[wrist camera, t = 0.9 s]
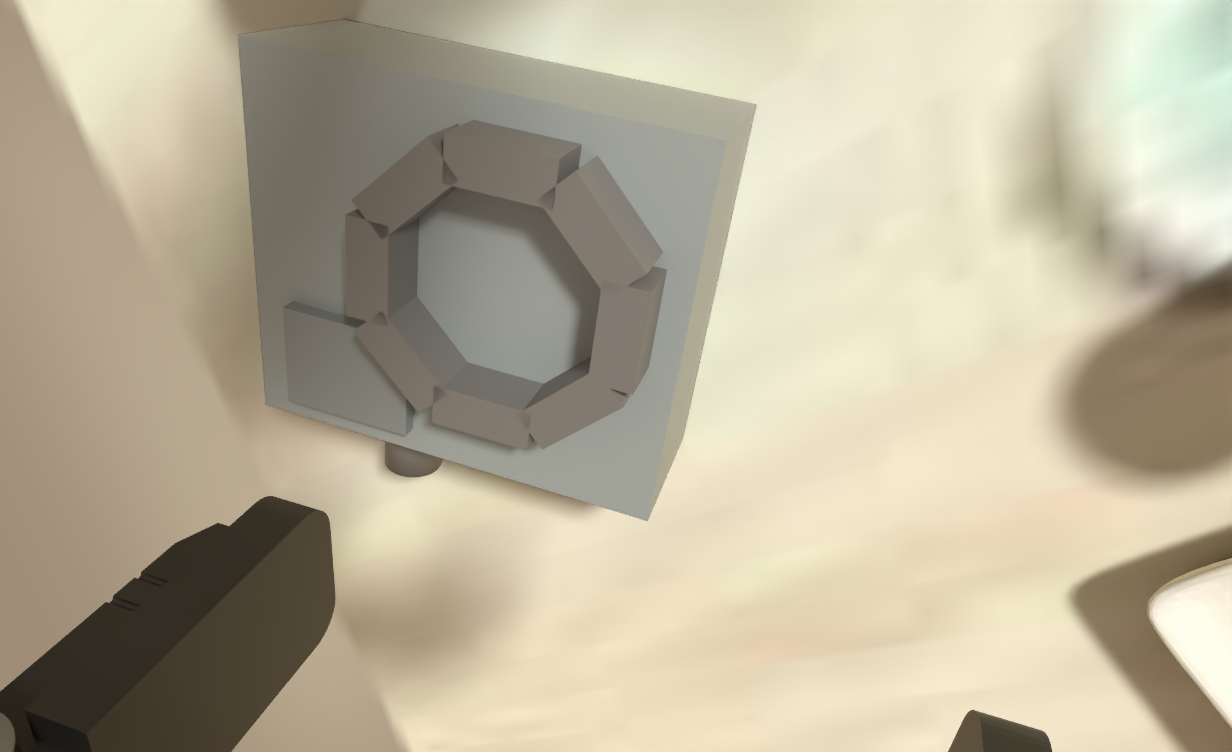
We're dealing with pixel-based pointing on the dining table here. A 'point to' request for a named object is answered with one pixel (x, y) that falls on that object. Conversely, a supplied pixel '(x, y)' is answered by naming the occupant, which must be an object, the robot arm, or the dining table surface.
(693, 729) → the dining table surface
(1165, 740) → the dining table surface
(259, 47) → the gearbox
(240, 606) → the robot arm
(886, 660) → the dining table surface
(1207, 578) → the salad plate
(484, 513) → the dining table surface
